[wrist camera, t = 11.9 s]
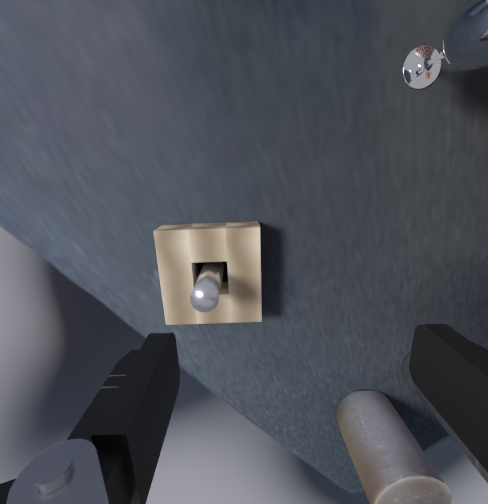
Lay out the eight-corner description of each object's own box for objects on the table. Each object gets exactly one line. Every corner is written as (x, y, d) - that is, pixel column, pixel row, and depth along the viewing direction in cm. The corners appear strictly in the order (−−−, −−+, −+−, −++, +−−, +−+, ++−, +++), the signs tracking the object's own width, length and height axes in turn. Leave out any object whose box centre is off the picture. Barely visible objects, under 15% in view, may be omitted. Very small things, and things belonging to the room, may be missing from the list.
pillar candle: (360, 441, 47) (413, 556, 33) (322, 413, 45) (362, 523, 31) (402, 408, 46) (478, 515, 31) (365, 377, 44) (428, 477, 29)
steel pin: (223, 257, 37) (217, 286, 28) (224, 277, 38) (219, 311, 29) (202, 258, 37) (188, 287, 28) (203, 278, 38) (191, 312, 29)
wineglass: (386, 75, 31) (471, 18, 20) (420, 26, 30) (533, -66, 18) (421, 105, 32) (522, 67, 21) (456, 59, 31) (585, -9, 19)
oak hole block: (258, 221, 36) (260, 227, 32) (259, 307, 40) (261, 321, 36) (162, 224, 36) (153, 230, 32) (173, 310, 40) (165, 324, 36)
